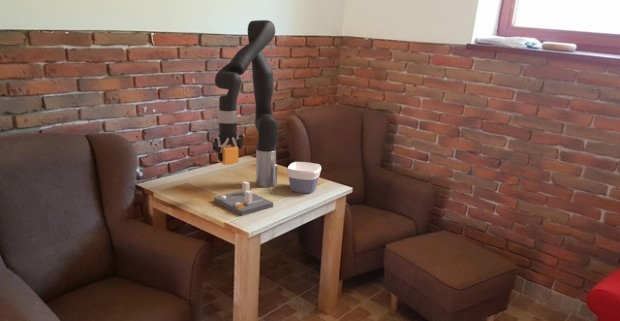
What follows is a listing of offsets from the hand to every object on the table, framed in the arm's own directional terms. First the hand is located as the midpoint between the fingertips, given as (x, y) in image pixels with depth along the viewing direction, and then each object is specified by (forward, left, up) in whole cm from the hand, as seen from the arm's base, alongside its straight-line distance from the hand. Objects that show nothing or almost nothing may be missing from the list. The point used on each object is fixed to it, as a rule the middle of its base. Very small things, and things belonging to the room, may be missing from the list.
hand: (227, 159), depth 193 cm
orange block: (0, 0, -1) cm, 1 cm away
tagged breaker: (-1, +14, -16) cm, 21 cm away
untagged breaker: (-7, +4, -16) cm, 18 cm away
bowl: (-36, +10, -18) cm, 41 cm away
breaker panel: (-2, +9, -18) cm, 20 cm away
